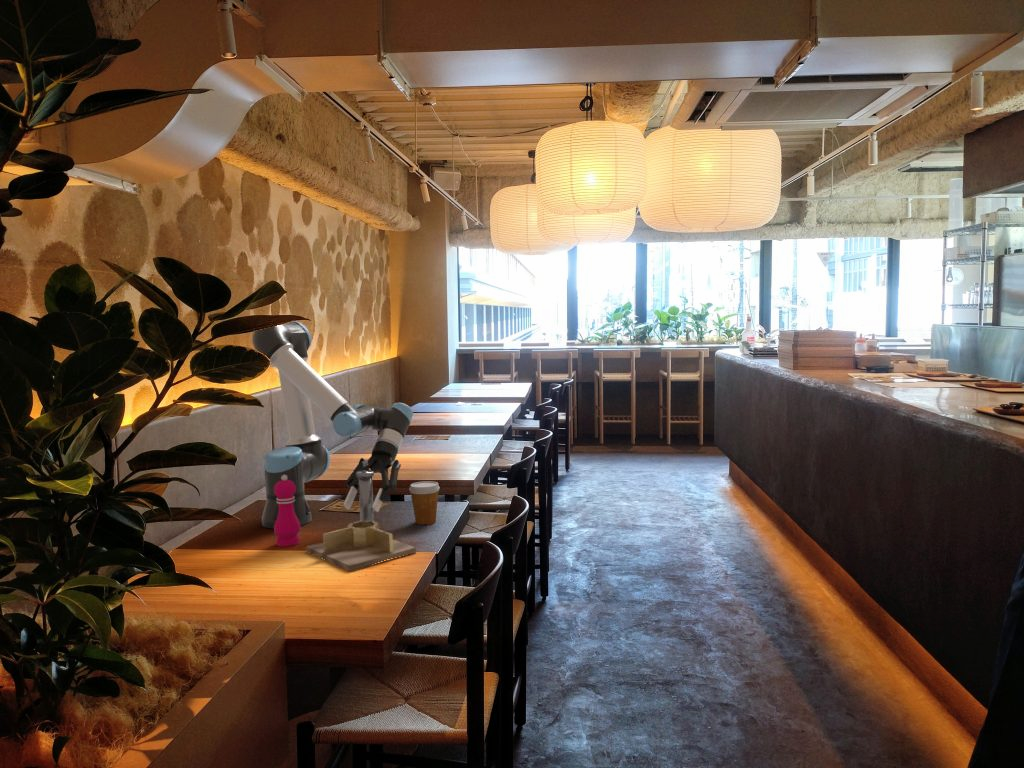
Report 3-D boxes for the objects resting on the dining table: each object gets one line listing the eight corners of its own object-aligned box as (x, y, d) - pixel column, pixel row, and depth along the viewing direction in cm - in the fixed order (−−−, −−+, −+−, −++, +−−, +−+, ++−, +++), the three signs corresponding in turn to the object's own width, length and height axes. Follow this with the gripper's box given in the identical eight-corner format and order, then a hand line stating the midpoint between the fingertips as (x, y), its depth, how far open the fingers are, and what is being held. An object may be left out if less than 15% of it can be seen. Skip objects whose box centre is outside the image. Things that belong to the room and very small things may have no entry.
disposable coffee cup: (413, 518, 228) (411, 481, 227) (443, 517, 228) (441, 480, 227) (407, 526, 219) (406, 488, 218) (438, 525, 219) (437, 487, 218)
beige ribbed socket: (317, 549, 194) (316, 531, 193) (368, 536, 205) (368, 519, 204) (351, 563, 181) (350, 544, 180) (404, 549, 191) (403, 531, 191)
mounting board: (305, 551, 197) (305, 546, 197) (368, 535, 210) (368, 530, 210) (350, 571, 179) (349, 565, 179) (415, 552, 193) (415, 547, 193)
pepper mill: (296, 547, 201) (292, 477, 200) (271, 547, 202) (267, 477, 200) (304, 539, 209) (300, 471, 207) (279, 540, 209) (276, 472, 207)
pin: (355, 531, 215) (352, 472, 213) (370, 528, 218) (367, 469, 217) (364, 535, 211) (361, 474, 210) (379, 531, 214) (377, 471, 213)
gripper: (422, 454, 223) (397, 517, 210) (362, 452, 231) (335, 512, 218) (413, 440, 218) (387, 504, 204) (352, 438, 226) (323, 499, 213)
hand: (360, 508), depth 211 cm, fingers open, 9 cm apart
